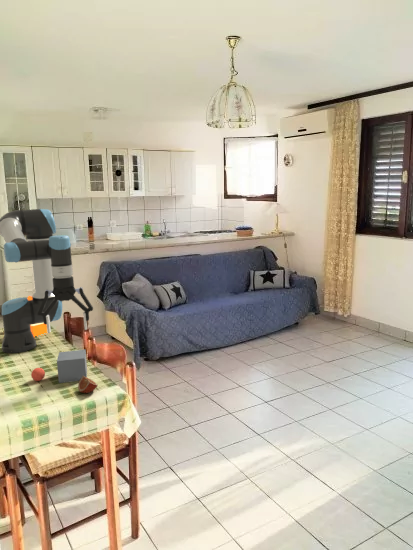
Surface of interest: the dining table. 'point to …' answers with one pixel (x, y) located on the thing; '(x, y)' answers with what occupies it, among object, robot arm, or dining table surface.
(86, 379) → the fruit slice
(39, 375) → the ball
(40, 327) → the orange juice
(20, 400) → the dining table surface
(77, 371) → the slate gray cube
